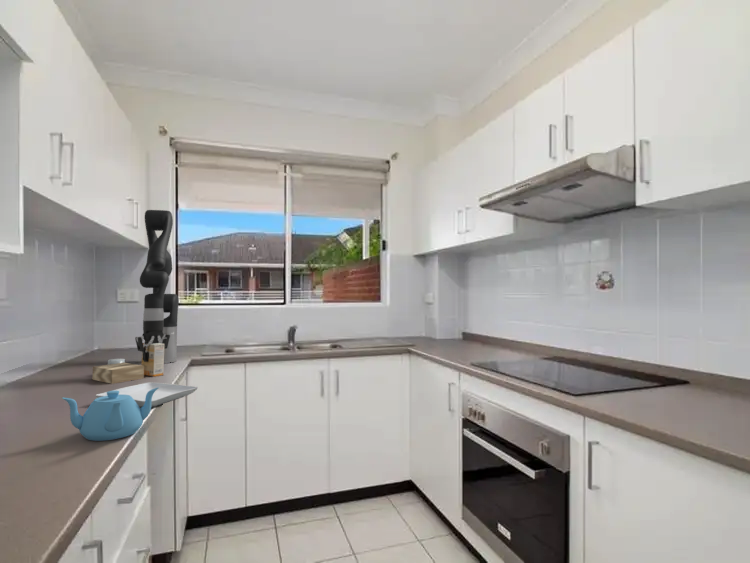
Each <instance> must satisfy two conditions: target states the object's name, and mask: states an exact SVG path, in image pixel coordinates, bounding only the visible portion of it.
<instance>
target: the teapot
mask: <svg viewBox="0 0 750 563" xmlns="http://www.w3.org/2000/svg"><path fill="white" fill-rule="evenodd" d="M158 388H159V387H158ZM158 388H154V389H152V390H150V391H149V392H148V393H147V394H146V398H145V404H144V406H143V407H139V406H138V405H137V403H136V402H135V400H134V399H133V398H132V397H131V396H130V395H118V394H119V391H116V389H114V390H115V391H112V390H108V391H106V392H107V395H108V396H103V397H99V398H97V397H96V398H95V399H93V401H92V402H91V403H90V404H89V406H88V408H87V409H86V410H85V412H84V413H83V415H81V414H80V413H79V411H78V404H77V403H78V402H77V401H76V400H75V399H74V398H70V397H61V398H62V399H63V400H65V402H66V403H67V404H68V406H69V411H70V412H69V413H70V414H69V415H70V416H69V418H70V422H71V424H72V426H73V427H75V428H76V429H78V430H79V433H80V434H81V435H82V437H84V438H85V439H86V440H88V441H96V442H98V441H99V442H100V441H101V442H102V441H112V440H113V441H114V440H118V439H122V438H127V437H129V436H132V435H133V434H135V433H137V431H138V430H139V429H140V428H141V427H142V426H143V423H144V421H145V420H146V419H147V418H148V416H149V415H150V413H151V411H152V407H151V402H152V396H153V394H154V392H155V391H156V390H157V389H158Z"/></svg>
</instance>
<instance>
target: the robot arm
mask: <svg viewBox="0 0 750 563" xmlns="http://www.w3.org/2000/svg"><path fill="white" fill-rule="evenodd" d="M173 222H174V219H173V214H172V212H171V211H170V210H164V209H163V210H161V209H147V210H146V211H145V212H144V224H145V225H144V226H145V231H146V235H147V243H148V251H147V257H146V264H145V266H144V268H143V270H142V272H141V274H140V277H139V284H140V285H141V286H142V287H143V288H146V289H152V293H147V294H145V295H144V300H143V301H144V305H143V306H144V308H143V313H142V314H143V318H142V319H143V320H142V332H143V333H142V335H140V336H135V343H136V348H137V351H139V352H141V353H142V352H143V360H144V362H148V361H149V353H148V351H149V347H150V344H153V343H161V344H164V364H169V363H170V362H171V363H175V361H176V362H177V353H178V352H177V351H178V348H177V347H178V345H177V344H178V314H179V312H178V311H179V297H178V295H177V294H176V293H166V289H167V287H168V284H169V280H170V278H169V277H170V276H171V274H172V272H173V260H172V258H173V257H172V256H171V254H170V252H169V250H168V246H169V241H170V239H171V234H172V230H173ZM156 231H157V232H158V231H161V234H159V236H157V233H156ZM166 313H169V315H168V316H166V317H164V316H165V314H166ZM143 343H144V344H143Z"/></svg>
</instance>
